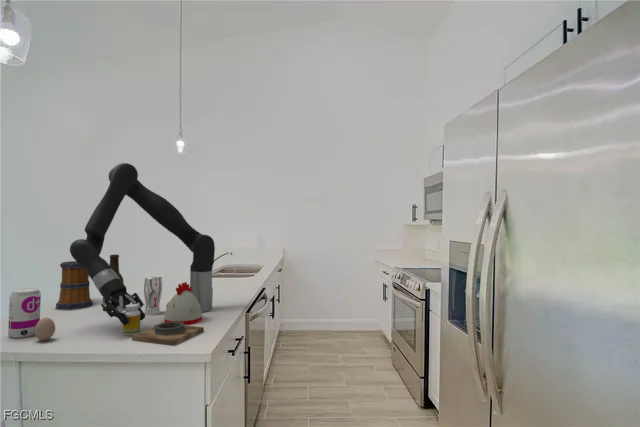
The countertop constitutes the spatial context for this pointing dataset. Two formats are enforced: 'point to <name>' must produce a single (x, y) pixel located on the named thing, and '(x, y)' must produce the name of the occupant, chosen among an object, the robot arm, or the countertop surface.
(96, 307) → the countertop surface
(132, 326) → the supplement bottle
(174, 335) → the socket board
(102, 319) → the countertop surface
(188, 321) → the kitchen timer
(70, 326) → the countertop surface
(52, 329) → the egg
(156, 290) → the beer glass
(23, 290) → the supplement can
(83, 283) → the mug
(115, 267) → the beer bottle
